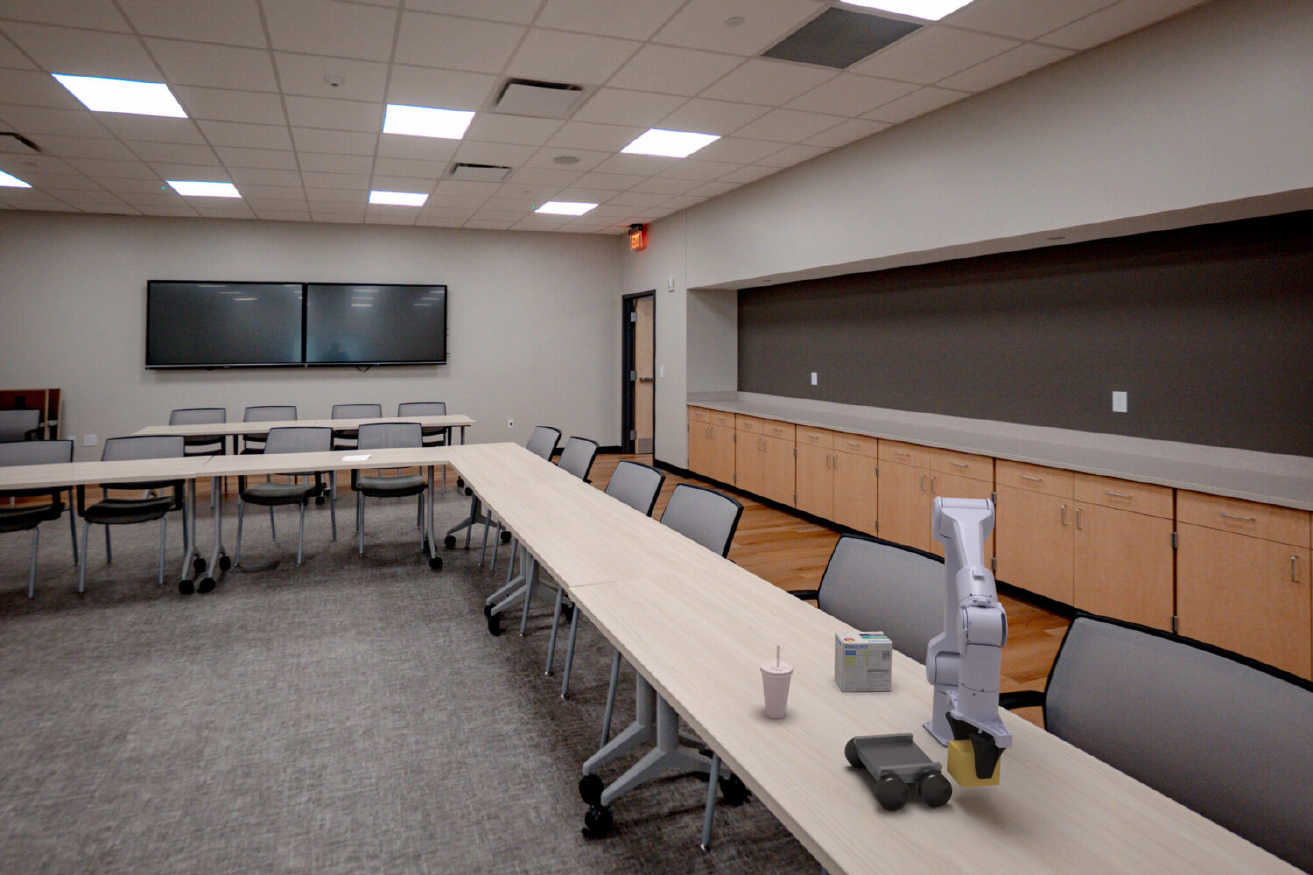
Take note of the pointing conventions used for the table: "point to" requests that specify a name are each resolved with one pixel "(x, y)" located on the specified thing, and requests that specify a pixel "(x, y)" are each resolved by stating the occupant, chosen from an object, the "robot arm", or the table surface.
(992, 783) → the yellow block
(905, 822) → the table surface
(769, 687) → the smoothie
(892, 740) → the trolley
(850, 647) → the light bulb box
